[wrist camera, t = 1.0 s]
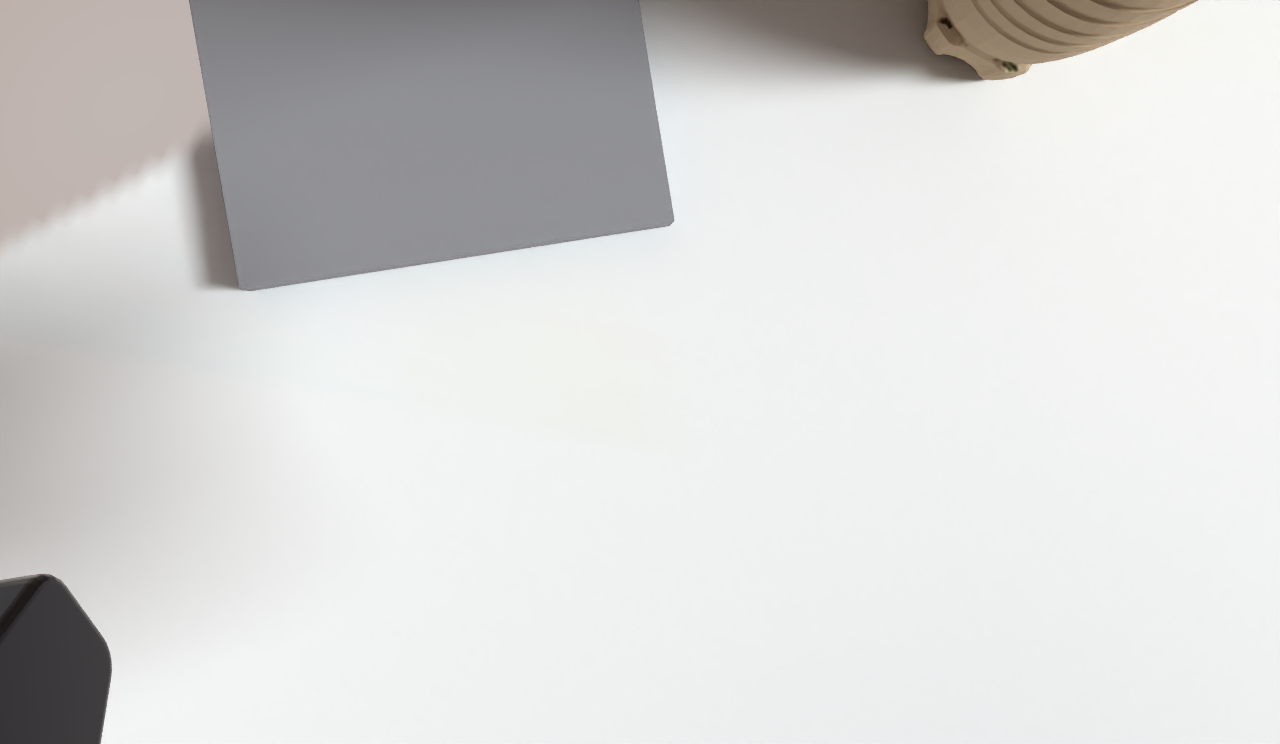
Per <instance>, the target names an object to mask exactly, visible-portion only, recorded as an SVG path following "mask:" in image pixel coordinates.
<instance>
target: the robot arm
mask: <svg viewBox="0 0 1280 744" xmlns="http://www.w3.org/2000/svg"><path fill="white" fill-rule="evenodd" d="M111 673H112V664H111V656H110V651H109V649H108V646H107V643H106V641H105V640H104V638H103V636H102V635H101V634H100V632H99V631H98V629H97V628H96V627H95V625H94V624H93V623H92V621H91V620H90V618H89V617H88V616H87V614H86V613H85V612H84V610H83V609H82V607H81V606H80V605H79V603H78V602H77V600H76V599H75V598H74V596H73V595H72V594H71V592H70V591H69V589H68V588H67V587H66V585H65V584H64V583H63V582H62V581H61V580H59V579H57V578H56V577H54V576H52V575H47V574H37V575H31V576H24V577H17V578H11V579H4V580H0V744H101V738H102V731H103V725H104V719H105V713H106V706H107V700H108V694H109V688H110V682H111Z"/></svg>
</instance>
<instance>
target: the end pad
mask: <svg viewBox="0 0 1280 744" xmlns="http://www.w3.org/2000/svg"><path fill="white" fill-rule="evenodd" d="M189 3H190V8H191V14H192V20H193V25H194V31H195V37H196V43H197V48H198V54H199V60H200V65H201V71H202V77H203V83H204V89H205V94H206V100H207V106H208V112H209V117H210V123H211V129H212V135H213V140H214V146H215V152H216V157H217V163H218V169H219V175H220V180H221V186H222V192H223V198H224V203H225V209H226V215H227V221H228V226H229V232H230V238H231V244H232V249H233V255H234V261H235V266H236V272H237V278H238V284H239V288H241V289H245V290H249V291H254V290H260V289H266V288H273V287H279V286H286V285H292V284H299V283H305V282H311V281H318V280H324V279H331V278H337V277H344V276H350V275H356V274H363V273H369V272H376V271H382V270H389V269H395V268H401V267H408V266H414V265H421V264H427V263H434V262H440V261H446V260H453V259H459V258H466V257H472V256H479V255H485V254H491V253H498V252H504V251H511V250H517V249H524V248H530V247H536V246H543V245H549V244H556V243H562V242H569V241H575V240H581V239H588V238H594V237H601V236H607V235H614V234H620V233H626V232H633V231H639V230H646V229H652V228H658V227H665V226H670V225H671V224H672V223H673V222H674V215H673V209H672V203H671V197H670V191H669V185H668V179H667V172H666V166H665V160H664V154H663V148H662V142H661V136H660V130H659V124H658V117H657V111H656V105H655V99H654V93H653V87H652V81H651V75H650V68H649V62H648V56H647V50H646V44H645V38H644V32H643V26H642V20H641V13H640V7H639V1H638V0H189Z"/></svg>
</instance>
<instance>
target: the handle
mask: <svg viewBox="0 0 1280 744" xmlns="http://www.w3.org/2000/svg"><path fill="white" fill-rule="evenodd" d="M1196 1H1198V0H927V2H928V22H927V28H926V30H925V32H924V39H925V41H926V42H927V44H928V46H929V47H930V48H931V49H932V51H933V52H934V53H935V54H937V55H943V54H945V55H950V56H954V57H957V58H959V59H961V60H964V61H965V62H967V63H968V64H970V65H971V66H972V67H973V68H974V69H975V70H976V71H977V74H978V76H980V77H981V78H982V79H985V80H1002V79H1008V78H1013V77H1016V76H1018V75H1021V74H1024V73H1026V72H1027V71H1028V70H1029V67H1030V66H1031V65H1032V64H1036V63H1044V62H1049V61H1055V60H1060V59H1064V58H1068V57H1072V56H1075V55H1078V54H1082V53H1085V52H1088V51H1091V50H1094V49H1096V48H1098V47H1101V46H1104V45H1106V44H1109V43H1111V42H1113V41H1116V40H1118V39H1120V38H1123V37H1125V36H1128V35H1130V34H1132V33H1134V32H1137V31H1139V30H1141V29H1143V28H1146V27H1148V26H1150V25H1152V24H1154V23H1156V22H1158V21H1160V20H1162V19H1164V18H1166V17H1168V16H1170V15H1172V14H1173V13H1175V12H1177V11H1178V10H1181V9H1183V8H1185V7H1187V6H1188V5H1190V4H1192V3H1194V2H1196Z"/></svg>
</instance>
